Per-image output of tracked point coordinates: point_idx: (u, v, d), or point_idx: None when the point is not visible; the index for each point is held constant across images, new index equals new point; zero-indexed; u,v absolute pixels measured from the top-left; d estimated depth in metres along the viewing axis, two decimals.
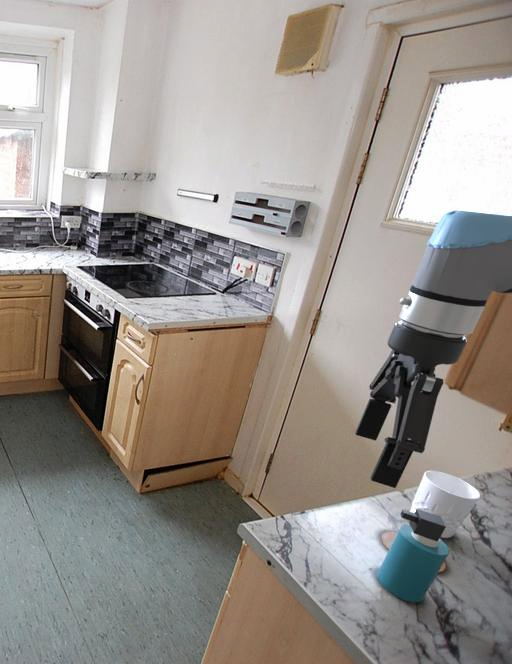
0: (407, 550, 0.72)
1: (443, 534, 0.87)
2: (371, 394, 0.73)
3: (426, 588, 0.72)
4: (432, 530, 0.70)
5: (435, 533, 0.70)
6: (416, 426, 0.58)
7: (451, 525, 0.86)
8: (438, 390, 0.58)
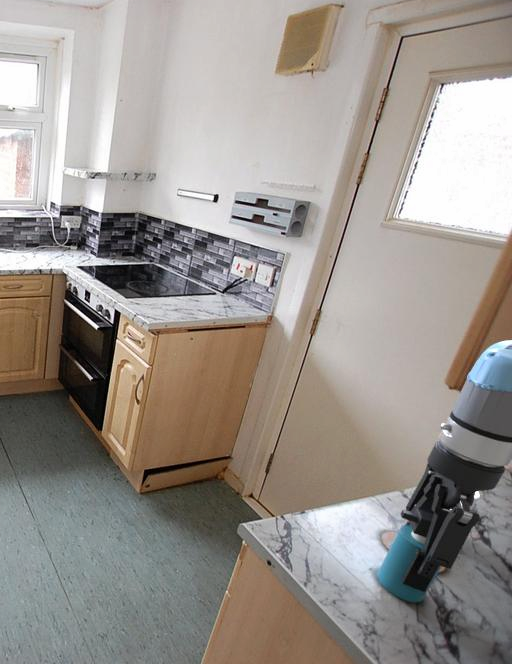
0: (407, 550, 0.72)
1: None
2: None
3: None
4: None
5: None
6: (447, 549, 0.65)
7: None
8: (473, 524, 0.63)
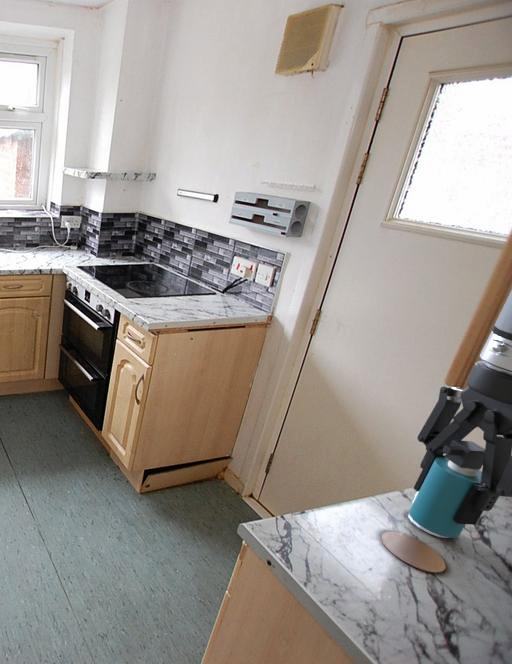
0: (457, 487, 0.66)
1: None
2: (430, 449, 0.71)
3: None
4: (477, 459, 0.65)
5: (479, 461, 0.65)
6: None
7: None
8: None
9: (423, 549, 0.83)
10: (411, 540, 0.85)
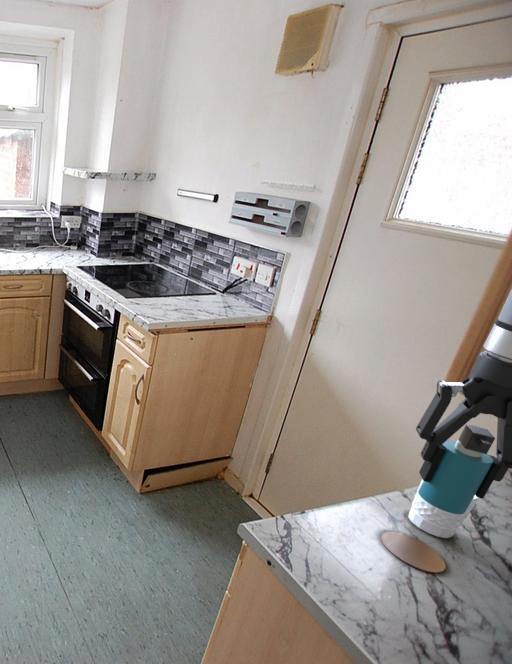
0: (486, 471, 0.71)
1: (443, 534, 0.87)
2: (439, 443, 0.74)
3: None
4: None
5: None
6: None
7: (451, 525, 0.86)
8: None
9: (423, 549, 0.83)
10: (411, 540, 0.85)
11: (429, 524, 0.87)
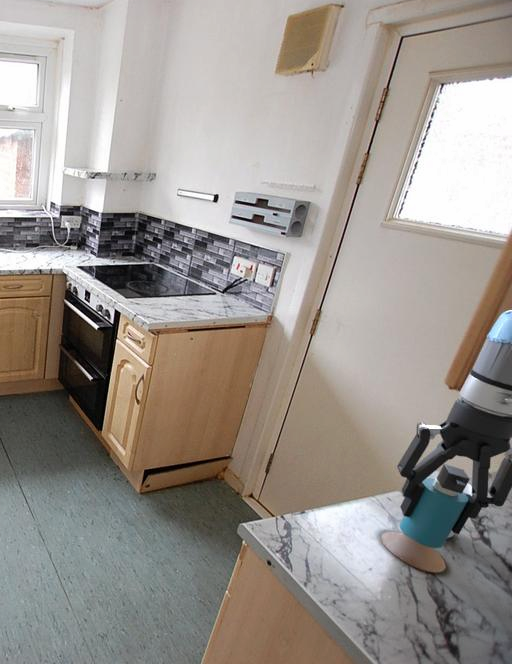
0: (461, 509, 0.76)
1: None
2: (418, 481, 0.79)
3: None
4: None
5: None
6: None
7: None
8: None
9: (423, 549, 0.83)
10: (411, 540, 0.85)
11: None
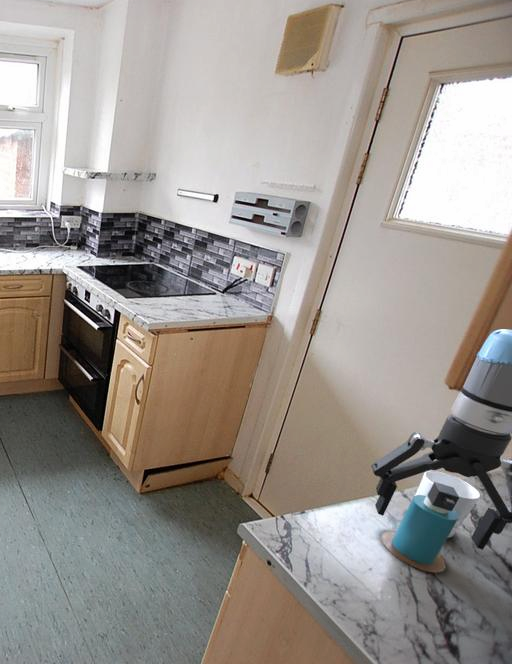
0: (451, 526, 0.77)
1: None
2: (391, 481, 0.81)
3: None
4: None
5: None
6: None
7: None
8: None
9: None
10: None
11: None
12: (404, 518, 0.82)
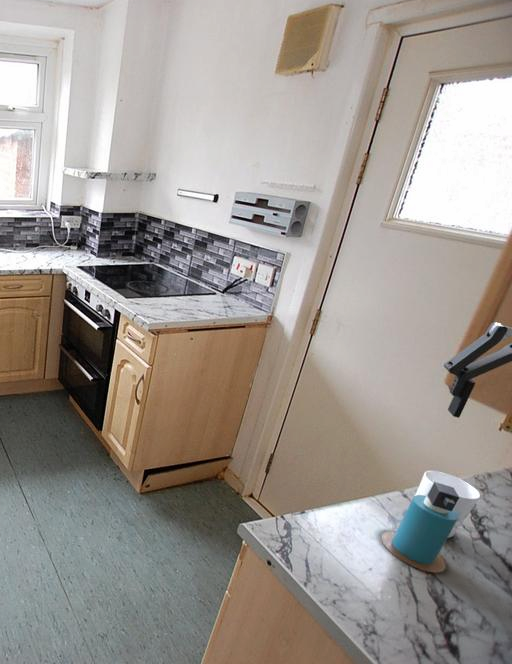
0: (451, 526, 0.77)
1: None
2: (468, 377, 0.75)
3: None
4: None
5: None
6: None
7: None
8: None
9: None
10: None
11: None
12: (404, 518, 0.82)
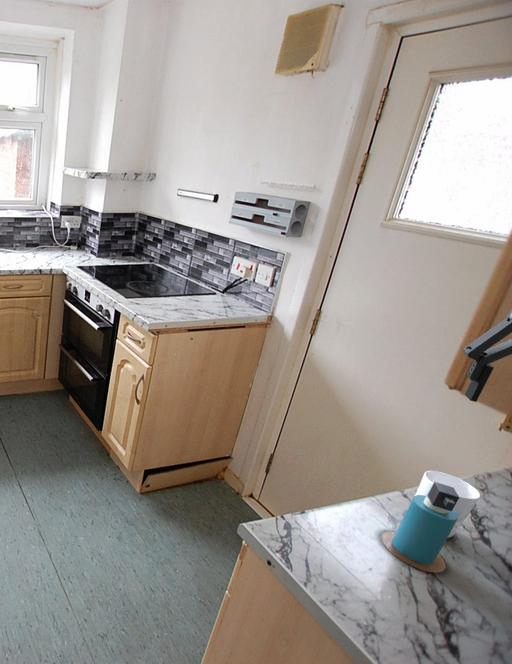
0: (451, 526, 0.77)
1: None
2: (487, 362, 0.75)
3: None
4: None
5: None
6: None
7: None
8: None
9: None
10: None
11: None
12: (404, 518, 0.82)
